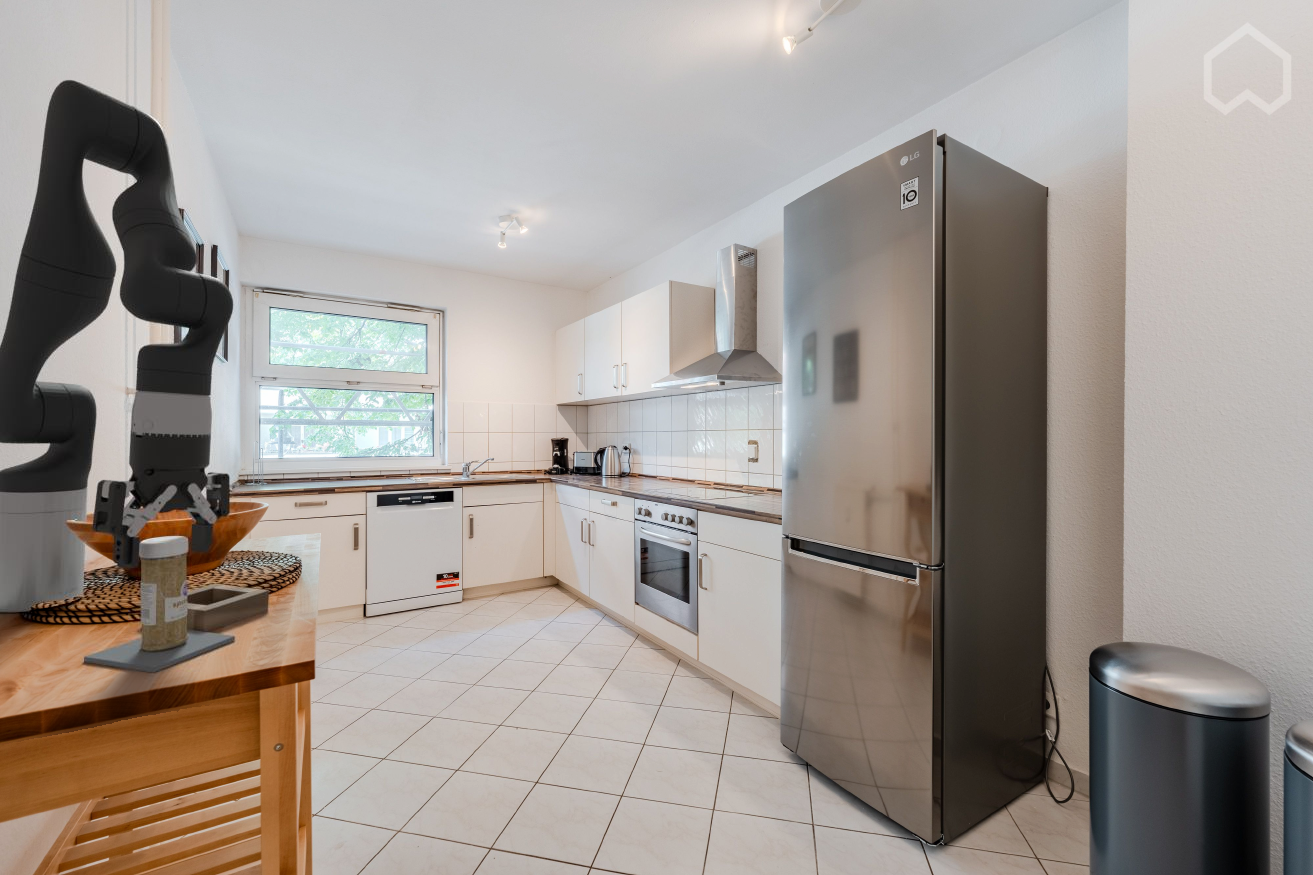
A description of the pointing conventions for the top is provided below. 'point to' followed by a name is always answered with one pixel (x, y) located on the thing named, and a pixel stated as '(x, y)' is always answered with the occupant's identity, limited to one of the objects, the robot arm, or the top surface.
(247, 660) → the top surface
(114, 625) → the top surface
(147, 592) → the sprinkles bottle
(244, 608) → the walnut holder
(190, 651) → the slate mat
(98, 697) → the top surface
